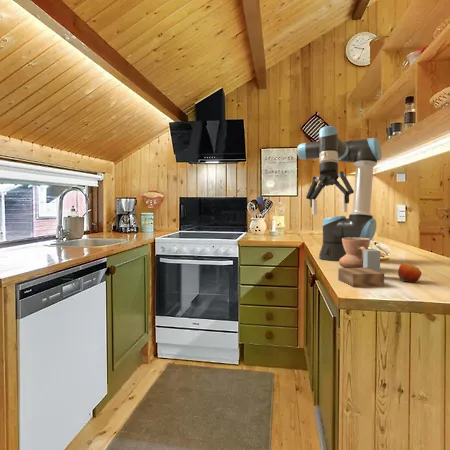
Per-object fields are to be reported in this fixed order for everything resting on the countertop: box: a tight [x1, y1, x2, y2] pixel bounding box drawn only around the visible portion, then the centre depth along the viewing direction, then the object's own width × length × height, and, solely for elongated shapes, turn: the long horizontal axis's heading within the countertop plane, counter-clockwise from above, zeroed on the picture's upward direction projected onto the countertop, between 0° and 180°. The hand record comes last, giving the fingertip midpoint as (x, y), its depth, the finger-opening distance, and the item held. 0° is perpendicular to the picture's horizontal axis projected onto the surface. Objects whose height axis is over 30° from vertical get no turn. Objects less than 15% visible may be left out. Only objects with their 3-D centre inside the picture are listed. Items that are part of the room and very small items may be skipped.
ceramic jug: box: [338, 237, 371, 268], centre depth 164 cm, size 18×14×14 cm
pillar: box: [363, 249, 381, 272], centre depth 147 cm, size 5×5×11 cm
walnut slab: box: [337, 267, 385, 288], centre depth 137 cm, size 12×12×5 cm
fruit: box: [397, 262, 422, 283], centre depth 139 cm, size 8×8×8 cm
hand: (329, 213), depth 148 cm, fingers open, 13 cm apart
